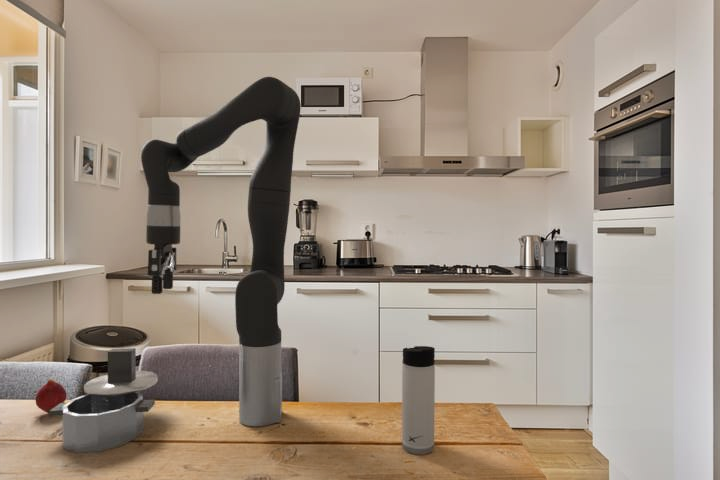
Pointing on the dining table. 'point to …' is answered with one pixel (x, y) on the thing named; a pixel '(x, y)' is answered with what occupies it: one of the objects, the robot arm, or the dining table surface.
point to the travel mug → (418, 399)
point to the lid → (121, 376)
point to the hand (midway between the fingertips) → (162, 291)
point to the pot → (101, 421)
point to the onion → (50, 396)
